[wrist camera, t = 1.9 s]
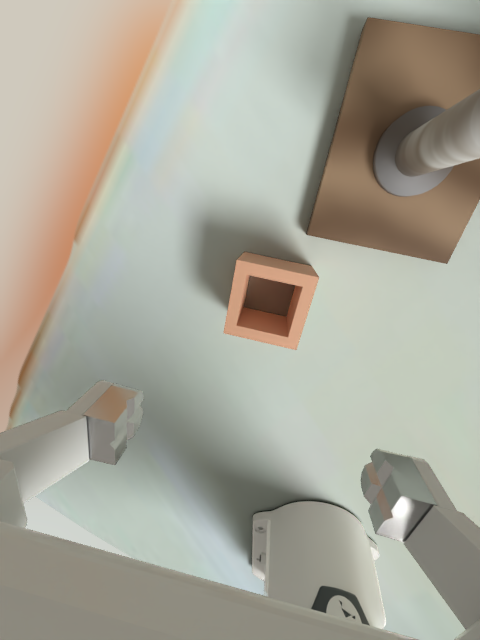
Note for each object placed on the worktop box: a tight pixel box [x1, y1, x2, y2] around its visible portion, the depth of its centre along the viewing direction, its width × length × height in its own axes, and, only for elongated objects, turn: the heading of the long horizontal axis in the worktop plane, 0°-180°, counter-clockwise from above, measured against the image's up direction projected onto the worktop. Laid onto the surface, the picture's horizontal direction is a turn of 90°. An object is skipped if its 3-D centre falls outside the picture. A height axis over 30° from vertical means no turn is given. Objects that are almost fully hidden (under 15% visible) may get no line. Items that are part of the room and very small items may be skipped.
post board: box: [306, 17, 480, 264], centre depth 16 cm, size 14×12×10 cm
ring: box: [224, 252, 319, 350], centre depth 24 cm, size 7×7×5 cm
